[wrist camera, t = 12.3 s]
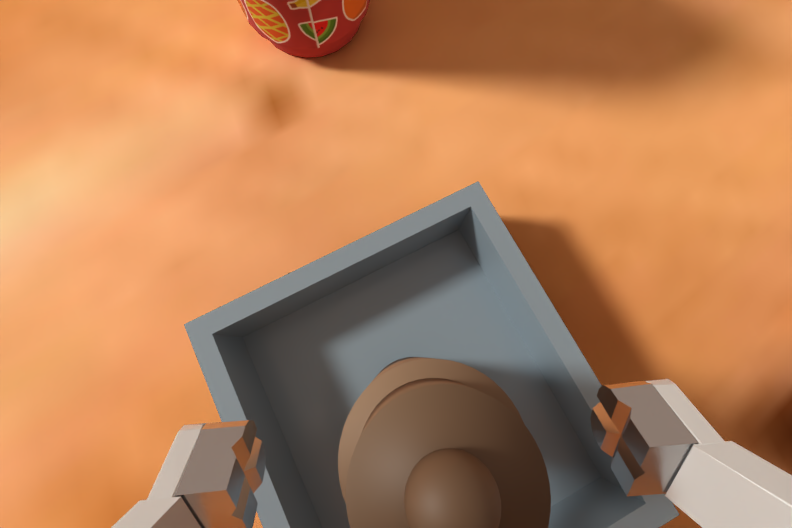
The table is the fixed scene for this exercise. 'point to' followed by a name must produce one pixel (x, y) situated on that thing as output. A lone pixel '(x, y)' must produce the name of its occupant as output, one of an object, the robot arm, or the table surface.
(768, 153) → the table surface
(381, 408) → the pepper mill
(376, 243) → the serving tray
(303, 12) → the smoothie
